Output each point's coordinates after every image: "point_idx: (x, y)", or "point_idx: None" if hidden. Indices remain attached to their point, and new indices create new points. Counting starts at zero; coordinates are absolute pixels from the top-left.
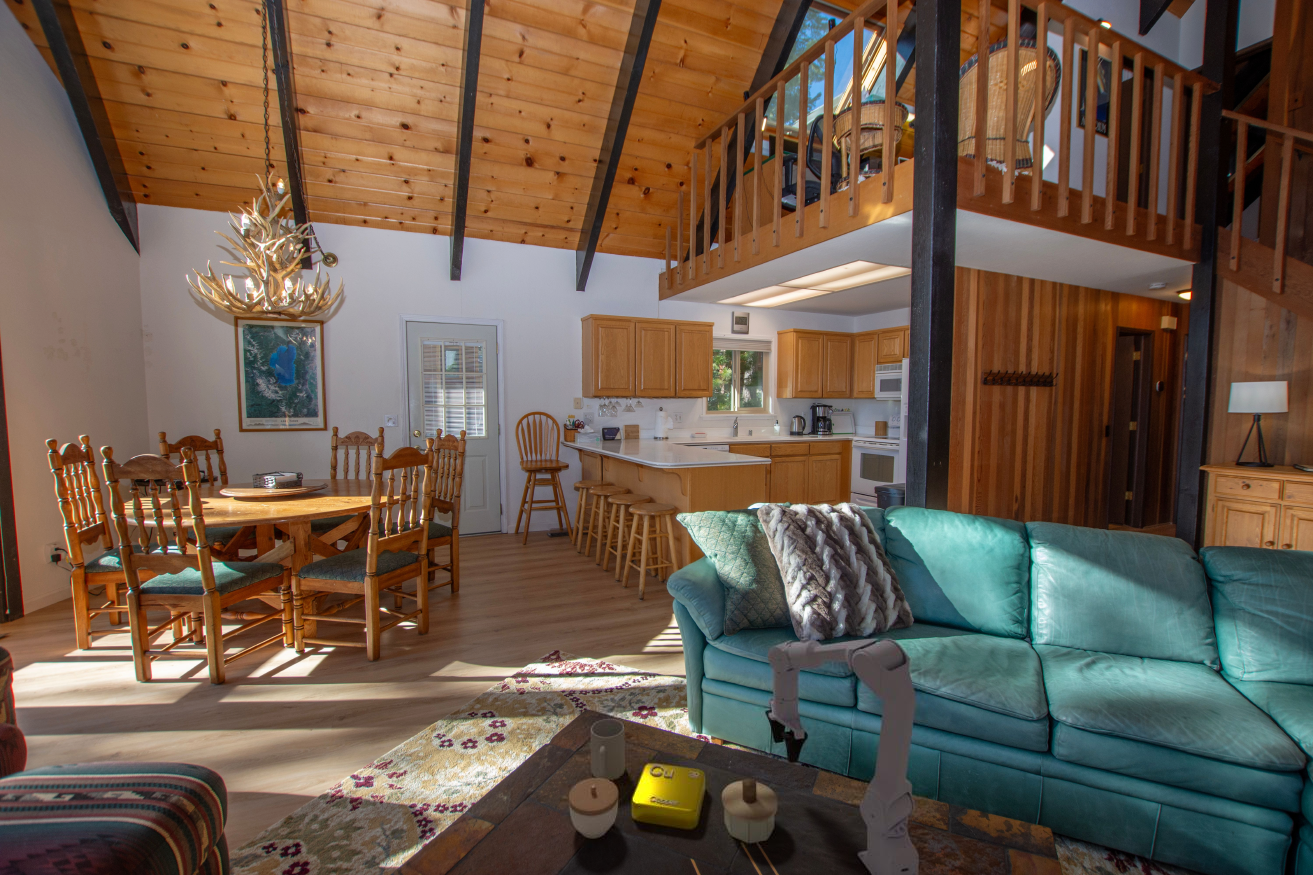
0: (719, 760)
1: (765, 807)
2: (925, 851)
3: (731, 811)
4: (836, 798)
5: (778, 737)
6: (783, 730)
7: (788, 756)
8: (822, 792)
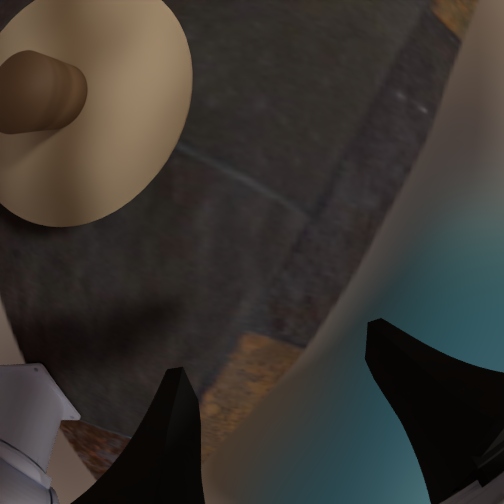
0: (428, 77)
1: (13, 167)
2: (92, 445)
3: (5, 29)
4: (221, 378)
5: (381, 357)
6: (396, 405)
7: (156, 394)
8: (246, 354)
